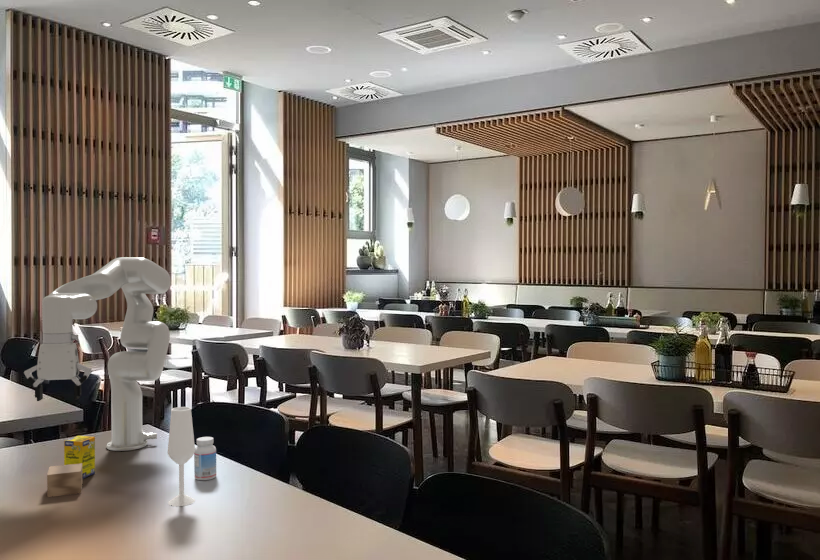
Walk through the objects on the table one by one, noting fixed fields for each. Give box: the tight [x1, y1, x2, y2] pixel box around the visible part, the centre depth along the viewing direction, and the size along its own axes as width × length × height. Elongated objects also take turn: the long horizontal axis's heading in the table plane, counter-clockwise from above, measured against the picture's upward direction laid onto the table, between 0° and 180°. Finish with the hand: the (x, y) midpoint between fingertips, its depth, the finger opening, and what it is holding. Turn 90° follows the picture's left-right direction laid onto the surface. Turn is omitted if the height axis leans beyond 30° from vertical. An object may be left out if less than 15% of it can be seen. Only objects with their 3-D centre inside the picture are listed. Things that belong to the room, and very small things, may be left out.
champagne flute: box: [167, 406, 196, 507], centre depth 177 cm, size 7×7×24 cm
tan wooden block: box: [46, 463, 84, 498], centre depth 185 cm, size 8×8×6 cm
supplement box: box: [63, 435, 96, 480], centre depth 197 cm, size 6×6×11 cm
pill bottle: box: [193, 436, 217, 481], centre depth 197 cm, size 6×6×11 cm
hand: (58, 399), depth 195 cm, fingers open, 9 cm apart
